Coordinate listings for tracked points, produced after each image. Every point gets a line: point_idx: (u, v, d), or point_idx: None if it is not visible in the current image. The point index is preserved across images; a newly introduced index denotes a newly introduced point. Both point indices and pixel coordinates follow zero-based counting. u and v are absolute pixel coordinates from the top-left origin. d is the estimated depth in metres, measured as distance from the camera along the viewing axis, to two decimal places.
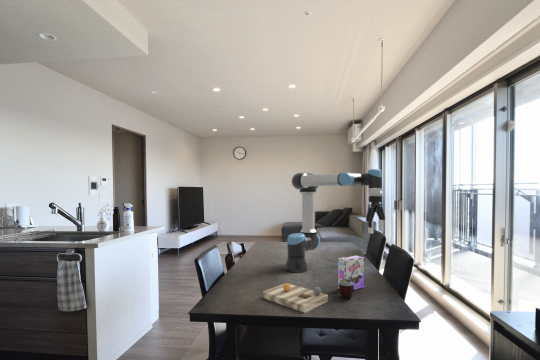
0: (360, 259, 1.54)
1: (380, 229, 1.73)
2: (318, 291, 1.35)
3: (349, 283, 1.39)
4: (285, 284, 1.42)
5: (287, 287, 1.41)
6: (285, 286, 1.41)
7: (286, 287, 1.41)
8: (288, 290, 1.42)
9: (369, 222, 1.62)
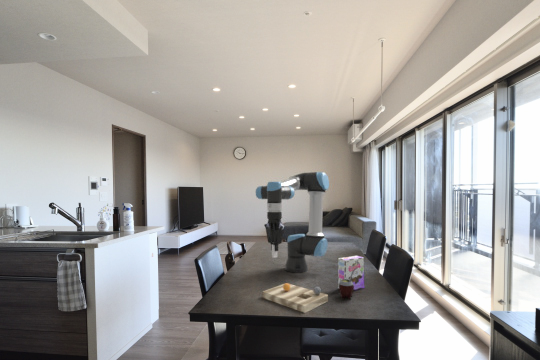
0: (360, 259, 1.54)
1: None
2: (318, 291, 1.35)
3: (349, 283, 1.39)
4: (285, 284, 1.42)
5: (287, 287, 1.41)
6: (285, 286, 1.41)
7: (286, 287, 1.41)
8: (288, 290, 1.42)
9: None
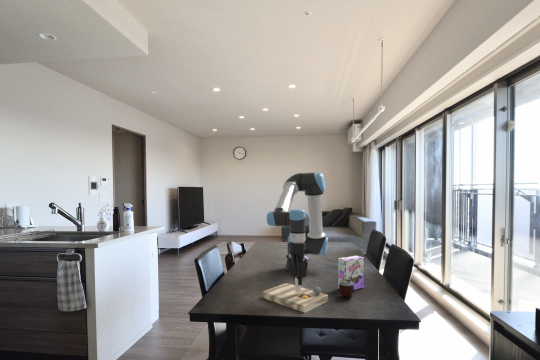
0: (360, 259, 1.54)
1: None
2: (318, 291, 1.35)
3: (349, 283, 1.39)
4: (305, 298, 1.33)
5: None
6: None
7: None
8: None
9: None
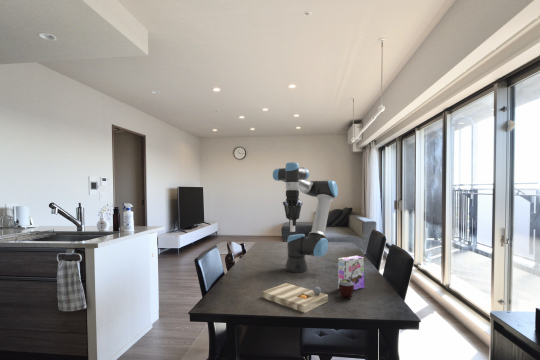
0: (360, 259, 1.54)
1: None
2: (318, 291, 1.35)
3: (349, 283, 1.39)
4: (302, 296, 1.34)
5: None
6: None
7: None
8: None
9: None
